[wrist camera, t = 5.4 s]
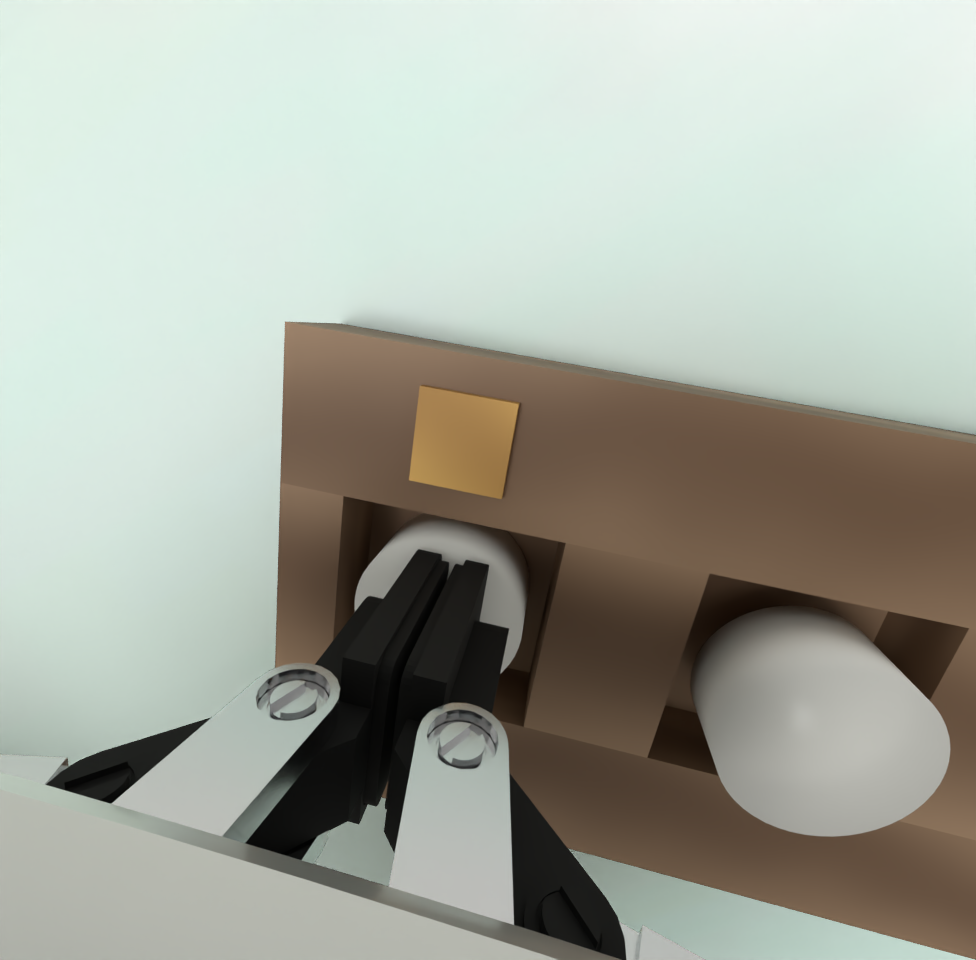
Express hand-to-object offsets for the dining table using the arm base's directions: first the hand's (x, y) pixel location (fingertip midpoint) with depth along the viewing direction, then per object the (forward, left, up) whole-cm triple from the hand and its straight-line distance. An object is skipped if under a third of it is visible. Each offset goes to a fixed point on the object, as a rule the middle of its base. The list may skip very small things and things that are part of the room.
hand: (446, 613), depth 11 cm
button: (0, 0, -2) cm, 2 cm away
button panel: (0, -8, -3) cm, 8 cm away
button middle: (0, -8, -1) cm, 8 cm away
